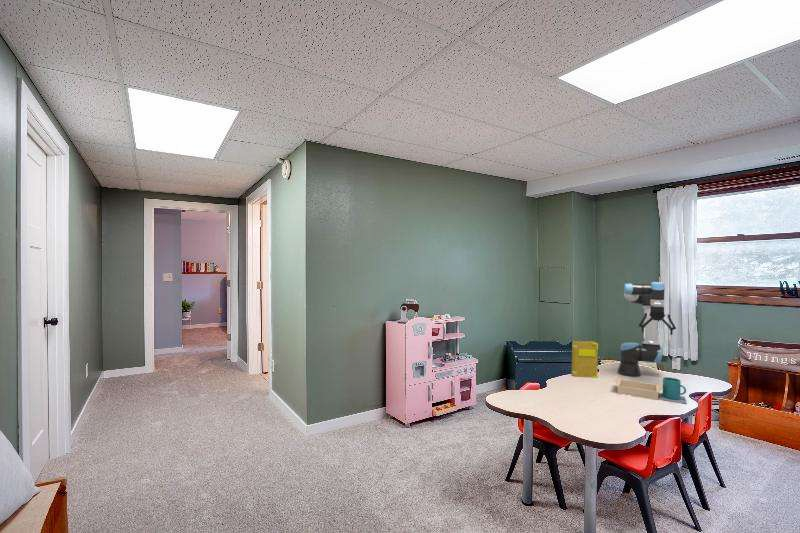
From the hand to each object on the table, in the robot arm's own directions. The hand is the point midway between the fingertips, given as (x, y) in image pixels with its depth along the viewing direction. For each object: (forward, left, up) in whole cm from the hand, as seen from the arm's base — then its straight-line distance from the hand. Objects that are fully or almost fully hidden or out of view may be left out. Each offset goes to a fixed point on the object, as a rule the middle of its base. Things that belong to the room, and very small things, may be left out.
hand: (656, 338), depth 258 cm
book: (-14, -44, -35) cm, 58 cm away
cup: (+10, +9, -34) cm, 37 cm away
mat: (+10, +9, -34) cm, 37 cm away
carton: (+10, -10, -34) cm, 37 cm away
